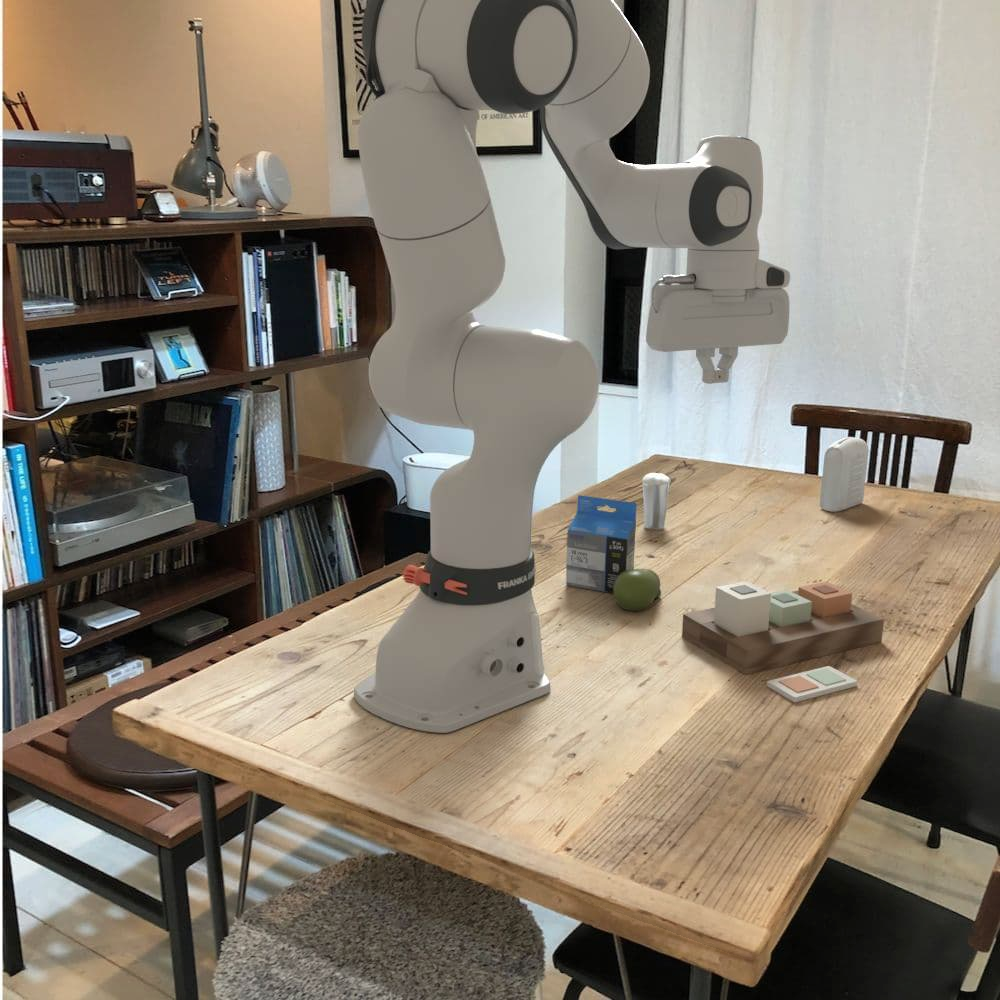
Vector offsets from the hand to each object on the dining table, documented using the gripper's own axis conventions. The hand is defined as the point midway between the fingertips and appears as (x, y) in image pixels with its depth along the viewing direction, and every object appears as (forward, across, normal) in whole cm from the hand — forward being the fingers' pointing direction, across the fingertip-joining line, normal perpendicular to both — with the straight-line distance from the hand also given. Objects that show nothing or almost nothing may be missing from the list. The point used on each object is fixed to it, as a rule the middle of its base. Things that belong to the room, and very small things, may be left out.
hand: (715, 382), depth 133 cm
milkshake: (+29, +12, +28) cm, 42 cm away
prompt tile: (+29, -7, -28) cm, 41 cm away
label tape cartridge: (+29, -11, +8) cm, 33 cm away
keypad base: (+29, -1, -17) cm, 34 cm away
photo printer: (+29, +48, +24) cm, 61 cm away
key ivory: (+26, -7, -17) cm, 32 cm away
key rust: (+28, +6, -17) cm, 34 cm away
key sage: (+29, -1, -17) cm, 33 cm away
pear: (+30, -10, +1) cm, 31 cm away
